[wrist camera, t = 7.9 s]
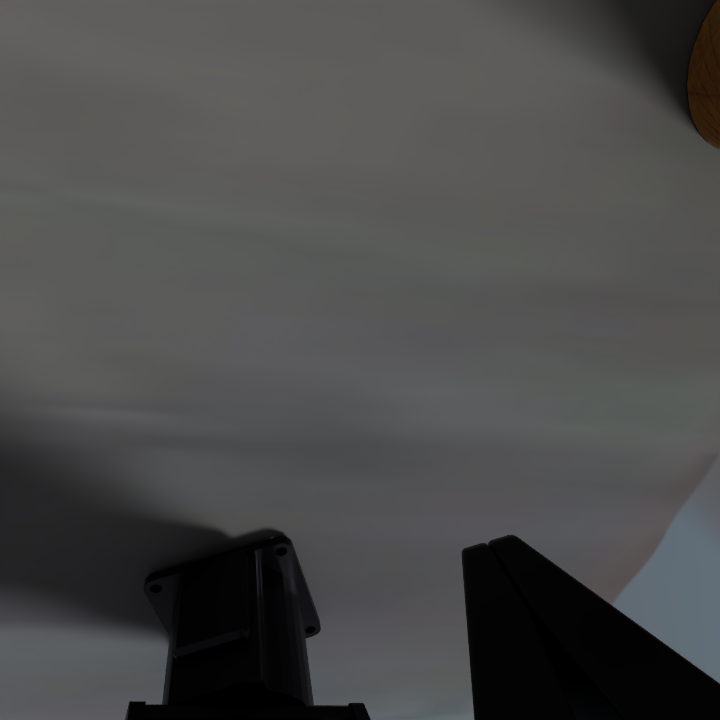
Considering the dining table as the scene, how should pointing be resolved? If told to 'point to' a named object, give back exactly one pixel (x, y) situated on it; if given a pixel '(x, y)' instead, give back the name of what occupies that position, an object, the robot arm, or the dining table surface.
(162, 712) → the robot arm
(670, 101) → the dining table surface
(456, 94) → the dining table surface
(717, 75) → the disposable coffee cup
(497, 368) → the dining table surface
